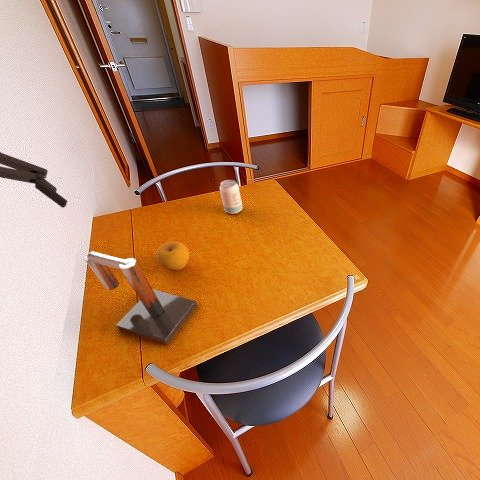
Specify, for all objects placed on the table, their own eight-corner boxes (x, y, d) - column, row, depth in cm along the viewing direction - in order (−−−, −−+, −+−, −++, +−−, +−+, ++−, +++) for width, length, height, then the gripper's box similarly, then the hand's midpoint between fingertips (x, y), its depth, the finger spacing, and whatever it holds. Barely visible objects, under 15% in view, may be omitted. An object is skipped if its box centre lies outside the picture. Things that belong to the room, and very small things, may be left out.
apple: (155, 274, 82) (143, 252, 76) (174, 254, 89) (164, 233, 83) (182, 280, 81) (172, 258, 75) (199, 259, 88) (191, 238, 82)
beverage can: (229, 204, 112) (223, 177, 104) (245, 206, 111) (241, 180, 103) (221, 214, 107) (215, 186, 99) (238, 216, 106) (232, 189, 98)
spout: (166, 308, 71) (139, 259, 59) (157, 318, 68) (127, 269, 57) (124, 296, 73) (90, 246, 62) (115, 305, 71) (77, 256, 59)
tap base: (197, 305, 75) (195, 300, 73) (167, 345, 66) (164, 340, 64) (153, 293, 77) (151, 288, 76) (119, 329, 68) (115, 325, 67)
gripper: (-4, 132, 63) (84, 199, 70) (-179, 183, 44) (-36, 268, 51) (-4, 110, 58) (90, 184, 65) (-198, 157, 40) (-39, 253, 47)
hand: (34, 221), depth 58 cm, fingers open, 13 cm apart
